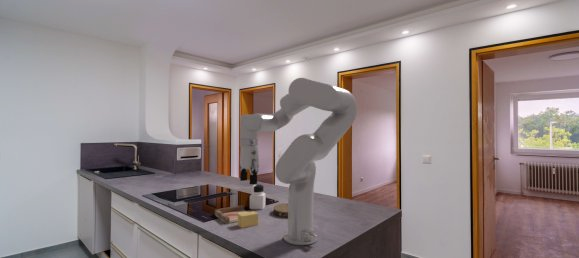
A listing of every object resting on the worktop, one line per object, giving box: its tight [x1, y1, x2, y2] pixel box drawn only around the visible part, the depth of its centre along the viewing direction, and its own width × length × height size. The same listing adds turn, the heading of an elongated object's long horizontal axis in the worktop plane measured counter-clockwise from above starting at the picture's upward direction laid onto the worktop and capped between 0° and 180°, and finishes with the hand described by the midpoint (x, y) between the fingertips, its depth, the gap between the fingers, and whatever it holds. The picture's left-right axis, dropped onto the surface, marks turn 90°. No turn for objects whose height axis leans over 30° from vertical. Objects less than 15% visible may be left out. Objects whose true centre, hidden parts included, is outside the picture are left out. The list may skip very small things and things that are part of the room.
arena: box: [213, 204, 248, 225], centre depth 130 cm, size 16×15×2 cm
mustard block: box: [237, 210, 259, 229], centre depth 118 cm, size 4×8×5 cm, turn 123°
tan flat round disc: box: [273, 202, 288, 219], centre depth 137 cm, size 16×16×3 cm
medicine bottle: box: [249, 183, 266, 210], centre depth 146 cm, size 7×7×12 cm
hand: (248, 182), depth 119 cm, fingers open, 9 cm apart
